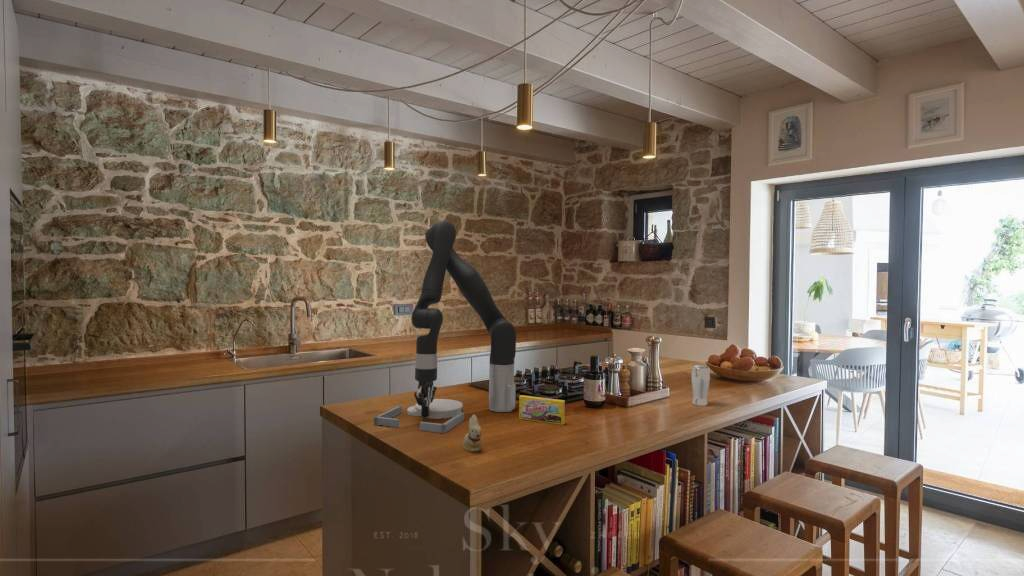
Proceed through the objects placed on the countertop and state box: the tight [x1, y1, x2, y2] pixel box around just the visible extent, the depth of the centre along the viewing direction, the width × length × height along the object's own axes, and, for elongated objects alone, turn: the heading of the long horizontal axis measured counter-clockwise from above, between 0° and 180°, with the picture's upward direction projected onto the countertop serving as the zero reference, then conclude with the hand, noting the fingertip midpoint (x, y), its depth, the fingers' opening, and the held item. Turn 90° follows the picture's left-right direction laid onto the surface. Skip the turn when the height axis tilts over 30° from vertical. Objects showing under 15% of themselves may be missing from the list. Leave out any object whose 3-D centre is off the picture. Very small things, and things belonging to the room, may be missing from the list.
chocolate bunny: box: [462, 414, 482, 453], centre depth 155 cm, size 6×8×10 cm
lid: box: [406, 398, 464, 420], centre depth 193 cm, size 17×20×3 cm
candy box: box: [518, 394, 566, 425], centre depth 184 cm, size 16×2×8 cm, turn 68°
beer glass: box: [690, 364, 711, 407], centre depth 212 cm, size 7×7×15 cm
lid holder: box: [373, 405, 465, 434], centre depth 180 cm, size 25×16×2 cm, turn 72°
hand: (425, 416), depth 183 cm, fingers closed
